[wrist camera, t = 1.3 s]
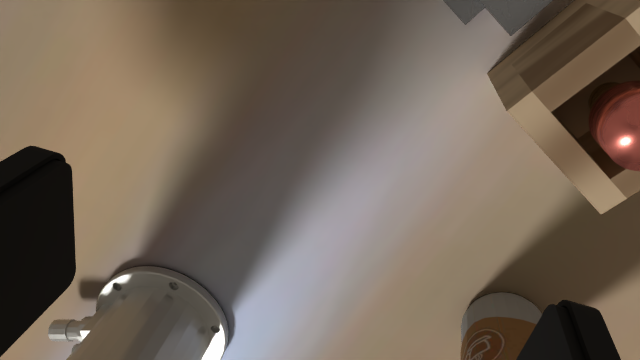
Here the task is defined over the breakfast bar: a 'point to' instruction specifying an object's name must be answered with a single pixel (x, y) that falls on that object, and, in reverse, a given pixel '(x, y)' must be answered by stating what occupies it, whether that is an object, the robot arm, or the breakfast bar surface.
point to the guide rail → (499, 11)
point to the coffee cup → (497, 327)
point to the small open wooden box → (574, 90)
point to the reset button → (617, 121)
